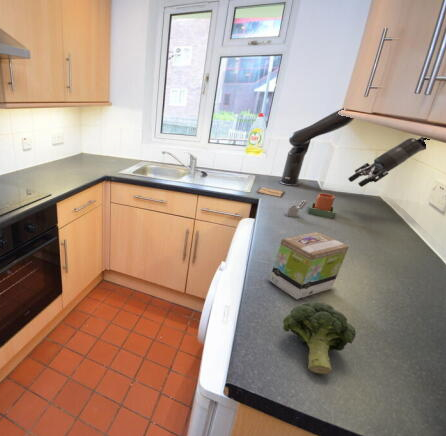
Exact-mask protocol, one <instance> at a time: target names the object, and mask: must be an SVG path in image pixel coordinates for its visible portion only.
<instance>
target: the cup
mask: <svg viewBox="0 0 446 436" xmlns="http://www.w3.org/2000/svg"><path fill="white" fill-rule="evenodd" d="M335 198H336V197H335V195H332V194H329V193H321V192H319V193H318V194H317V197H316V200H315V202H314V203H315V207H314V208H316V209H321V210H326V211H330V210H331V207H332V206H333V204H334V201H335Z"/></svg>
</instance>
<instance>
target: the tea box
mask: <svg viewBox="0 0 446 436" xmlns="http://www.w3.org/2000/svg"><path fill="white" fill-rule="evenodd" d="M349 246H350V245H347V244H345V243H343V242H341V241H338V240H336V239H333V238H332V237H329V236H327V235H325V234H323V233H320V232H318V231H314V232H309V233H304V234H298V235H294V236H288V237H284V238H282V239H281V242H280V245H279V248H278V251H277V254H276V257H275V260H274V264H273V267H272V271H271V273H270V275H269V282H270V283H272V284H273V285H274V286H276V287H278V288H279V289H280V290H282V291H283V292H285V293H286V294H288V295H290V297H292V298H294V299H295V300H299V299H301V298H305V297H308V296H313V295H315V294H319V293H321V292H325V291H328V290H331V289H332V288H333V287H334V284H335V282H336V280H337V277H338V274H339V272H340V270H341V267H342V265H343V263H344V259H345V258H346V255H347V252H348V250H349Z"/></svg>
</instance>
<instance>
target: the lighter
mask: <svg viewBox="0 0 446 436" xmlns="http://www.w3.org/2000/svg"><path fill="white" fill-rule="evenodd" d="M307 204H308V201H307V200H305V199H303V200H302V201H301V202H300V204H298V205H296V204H292V205H291V206H288V207H287V211H286V217H292V218H293V217H294V218H297V217H298V213H299V210H303V209H304V208H305V206H306V205H307Z"/></svg>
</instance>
